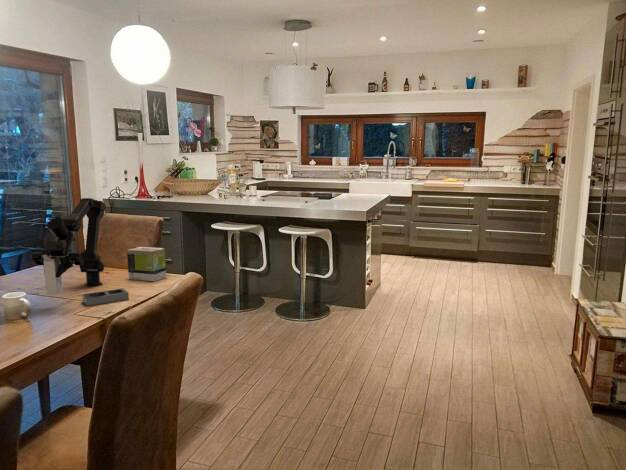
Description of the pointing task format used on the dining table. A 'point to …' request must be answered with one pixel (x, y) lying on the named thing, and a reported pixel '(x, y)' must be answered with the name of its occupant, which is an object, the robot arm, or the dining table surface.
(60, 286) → the grey tall block
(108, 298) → the grey compartment tray
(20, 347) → the dining table surface
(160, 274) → the tea box
